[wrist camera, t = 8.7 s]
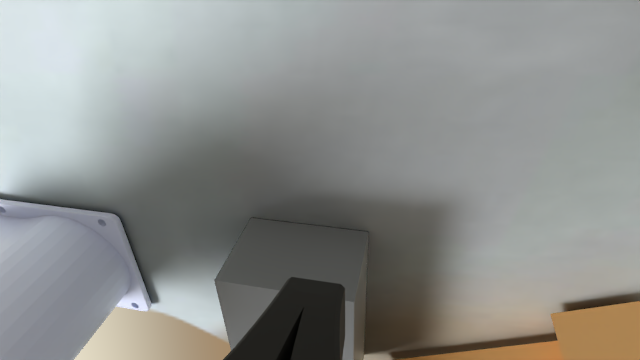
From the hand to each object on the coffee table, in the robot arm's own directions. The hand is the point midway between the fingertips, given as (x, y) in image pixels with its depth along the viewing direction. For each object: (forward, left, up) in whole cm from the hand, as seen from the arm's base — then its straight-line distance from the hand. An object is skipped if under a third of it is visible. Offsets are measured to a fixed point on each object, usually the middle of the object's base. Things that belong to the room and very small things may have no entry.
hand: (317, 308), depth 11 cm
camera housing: (-3, -10, -9) cm, 14 cm away
